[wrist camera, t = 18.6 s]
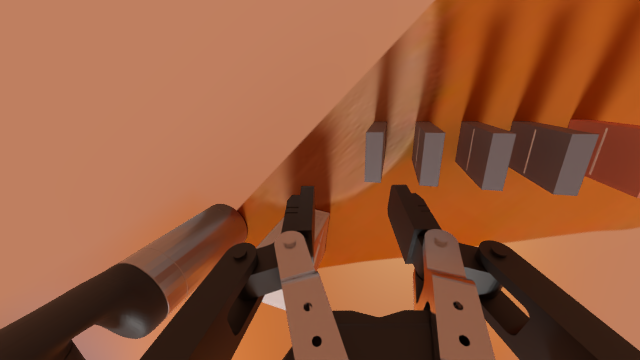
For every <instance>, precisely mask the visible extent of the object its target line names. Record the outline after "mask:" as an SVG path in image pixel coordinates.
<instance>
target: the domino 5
mask: <svg viewBox="0 0 640 360" xmlns="http://www.w3.org/2000/svg"><path fill="white" fill-rule="evenodd" d="M568 129H573V130H579V131H584V132H590V133H595V134H599V137H598V139H597V142H596V145H595V148H594V150H593V153H592V156H591V159H590V161H589V164H588V167H587V170H586V173H585V175H584V176H586V177H589V178H591V179H593V180H596V181H598V182H601V183H603V184H605V185H608V186H610V187H613V188H615V189H617V190H620V191H622V192H625V193H627V194H629V195H632V196H634V197H636V198H640V126H638V125H630V124H622V123H613V122H605V121H597V120H570V123H569V126H568Z"/></svg>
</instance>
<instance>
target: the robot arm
mask: <svg viewBox="0 0 640 360" xmlns="http://www.w3.org/2000/svg"><path fill="white" fill-rule="evenodd" d="M388 217H389V219H390V222H391V225H392V228H393V231H394V233H395V236H396V239H397V242H398V244H399V247H400V250H401V253H402V256H403V258H404V261H405V264H413V265H414V267H415V269H414V273H413V289H414V290H413V291H414V310H404V311H400V312H397V313H394V314H390V315H387V316H384V317H374V316H371V315H367V314H363V313H359V312H355V311H332V310H331V307H330V304H329V301H328V298H327V296H326V292H325V290H324V287H323V284H322V281H321V278H320V276H319V273H318V272H317V271H315V268H314V265H313V264H314V239H315V192H314V186H301V193H300V195H292V196H291V197H290V198H289V200H288V201H287V206H286V211H285V216H284V221H283V226H282V231H281V234H280V235H279V236H278V237H277V238H276V239H275V242H274V243H272V244H270V245H267V246H264V247H261V248H257V249H256V248H255V246H254V245H252V244H250V243H243V242H244V241H245V239H246V237H247V227H246V223H245V221H244V219H243V218H242V216H241V215H240V214H239V213H238V212H237V211H236V210H235V209H234V208H232V207H230V206H227V205H225V204H216V205H213V206H211V207H210V208H208V209H206V210H205V211H203V212H202V213H200V214H198V215H196V216H195V217H193V218H191V219H190V220H188V221H187V222H185V223H183V224H182V225H180V226H178V227H177V228H175V229H173V230H172V231H170V232H169V233H167V234H165V235H163V236H162V237H160V238H159V239H157V240H155V241H154V242H152V243H150V244H149V245H147V246H146V247H144V248H142V249H140V250H139V251H137V252H136V253H134V254H132V255H131V256H129V257H127V258H126V259H124V260H123V261H121V262H119V263H118V264H116V265H114V266H113V267H111V268H109V269H108V270H106V271H104V272H102V273H101V274H99V275H97V276H95V277H93V278H91V279H89V280H88V281H86V282H84V283H82V284H80V285H78V286H76V287H75V288H73V289H71V290H69V291H68V292H66V293H64V294H63V295H61V296H59V297H58V298H56V299H54V300H52V301H51V302H49V303H47V304H45V305H44V306H42V307H40V308H38V309H37V310H35V311H33V312H31V313H30V314H28V315H26V316H24V317H22V318H20V319H19V320H17V321H15V322H13V323H11V324H9V325H8V326H6V327H4V328H2V329H0V360H85V358H84V357H83V356H82V354H81V353H80V351H79V350H78V348H77V347H76V345H75V344H74V343H73V341H72V340H71V339H72V338H74V337H75V336H77V335H78V334H80V333H81V332H83V331H84V330H86V329H87V328H89V327H91V326H92V325H94V324H96V325H100V326H102V327H104V328H106V329H108V330H110V331H112V332H114V333H116V334H118V335H120V336H123V337H127V338H132V339H138V338H142V337H145V336H146V335H148V334H149V333H151V332H152V331H153V330H154V329H155V328H156V327H157V326H158V325H159V324H160V323H161V322H162V321H163V320H164V319H165V318H166V317H167V316H168V315H169V314H170V313H171V312H172V311H173V310H174V309H175V308H177V306H179V305H180V304H181V303H182V302H183V301H184V299H186V298H187V297H188V296H189V295H190V293H192V292H193V291H194V290H195V289H196V288H197V287H198V288H197V289H196V290H195V291H194V293H193V294H192V295H191V296H190V298H189V299H188V300H187V301H186V302H185V304H184V305H183V306H182V308H181V309H180V310H179V311H178V313H177V314H176V315H175V316H174V317H173V319H172V320H171V321H170V322H169V324H168V325H167V326H166V327H165V329H164V330H163V331H162V333H161V334H160V335H159V336H158V337H157V339H156V340H155V341H154V342H153V344H152V345H151V346H150V347H149V349H148V350H147V351H146V352H145V354H144V355H143V356H142V357H141V359H140V360H231V359H232V357H233V355H234V353H235V351H236V349H237V347H238V345H239V343H240V341H241V339H242V338H243V336H244V334H245V332H246V330H247V328H248V326H249V324H250V322H251V321H252V319H253V317H254V315H255V313H256V311H257V309H258V307H259V305H260V303H261V302H262V300H263V298H264V296H265V295H266V294H269V293H272V292H275V291H278V290H281V289H282V291H283V297H284V302H285V308H286V313H287V319H288V325H289V330H290V335H291V341H292V347H291V349H290V350H289V351H288V353H287V354H286V356H285V357H284V358H283V360H495V356H494V353H493V349H492V345H491V341H490V337H489V334H488V330H487V326H486V322H485V320H486V321H487V322H488V323H489V324H490V326H491V327H492V328H493V329H494V330H495V332H496V333H497V334H498V335H499V336H500V337H501V338H502V339H503V341H504V342H505V343H506V344H507V346H508V347H509V348H510V349H511V350H512V351H513V352H514V354H515V355H516V356H517V357H518V358H519V360H640V351H639V350H638V349H637V348H635V347H634V346H633V345H631V344H630V343H629V342H628V341H626V340H625V339H624V338H623V337H621V336H620V335H619V334H617V333H616V332H615V331H614V330H612V329H611V328H610V327H609V326H607V325H606V324H605V323H604V322H602V321H601V320H600V319H599V318H597V317H596V316H595V315H594V314H592V313H591V312H590V311H589V310H587V309H586V308H585V307H584V306H582V305H581V304H580V303H579V302H577V301H576V300H575V299H574V298H572V297H571V296H570V295H568V294H567V293H566V292H565V291H563V290H562V289H561V288H560V287H558V286H557V285H556V284H555V283H553V282H552V281H551V280H550V279H548V278H547V277H546V276H544V275H543V274H542V273H541V272H540V271H538V270H537V269H536V268H534V267H533V266H532V265H531V264H529V263H528V262H527V261H526V260H524V259H523V258H522V257H521V256H519V255H518V254H517V253H516V252H514V251H513V250H512V249H510V248H509V247H507V246H505V245H504V244H502V243H499V242H496V241H490V240H489V241H483V242H481V243H480V245H479V247H474V246H470V245H465V244H461V243H458V241H457V240H456V238H455V237H454V236H453V235H451V234H450V233H448V232H446V231H443V230H442V229H441V228H440V226H439V224H438V223H437V221H436V220H435V218H434V216H433V215H432V213H431V212H430V210H429V208H428V207H427V205H426V203H425V201H424V200H423V198H421V197H420V196H419V195H417V194H416V193H411V192H410V190H409V189H408V187H407V185H392V186H391V191H390V197H389V202H388ZM502 287H504V288H506V289H507V291H509V292H510V293H511V294H512V295H513V296H514V297H515V298H516V299H517V300H518V301H519V302H520V303H521V304H522V305H523V306H524V307H525V308H526V310H527V311H528V313H529V316H530V318H529V317H528V316H526V315H525V313H523V312H522V311H521V310H520V309H519V308H518V307H517V306H516V305H515V304H514V303H513V302H512V301H511V300H510V299H509V298H508V297H507V296H506V295H505V294H504V293H503V292H502V291H501V288H502Z"/></svg>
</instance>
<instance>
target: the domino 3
mask: <svg viewBox="0 0 640 360" xmlns="http://www.w3.org/2000/svg"><path fill="white" fill-rule="evenodd" d="M515 137H516V133H513V132H510V131H506V130H503V129H500V128H497V127H493V126H490V125H487V124H484V123H480V122H477V121H464V122H462V123H461V129H460V136H459V142H458V148H457V154H456V160H455V162H456V163H457V164H458V165H459V166H460V167H461V168H462V169H463V170H464V171H465V172H466V173H467V174H468V176H469V177H470V178H471V179H472V180H473V181H474V182H475V183H476V184H477V185H478V186H479V187H480V188H481V189H482V190H497V191H503V186H504V182H505V178H506V174H507V170H508V166H509V162H510V158H511V154H512V149H513V145H514V141H515Z"/></svg>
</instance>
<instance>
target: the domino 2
mask: <svg viewBox="0 0 640 360" xmlns="http://www.w3.org/2000/svg"><path fill="white" fill-rule="evenodd" d="M444 139H445V132H443V131H442V130H441V129H439V128H438V127H436V126H435V125H434V124H432V123H431V122H416V126H415V136H414V146H413V156H412V161H413V165H414V168H415V172H416V175H417V179H418V182H419V185H423V186H438V180H439V173H440V166H441V160H442V153H443V146H444Z"/></svg>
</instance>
